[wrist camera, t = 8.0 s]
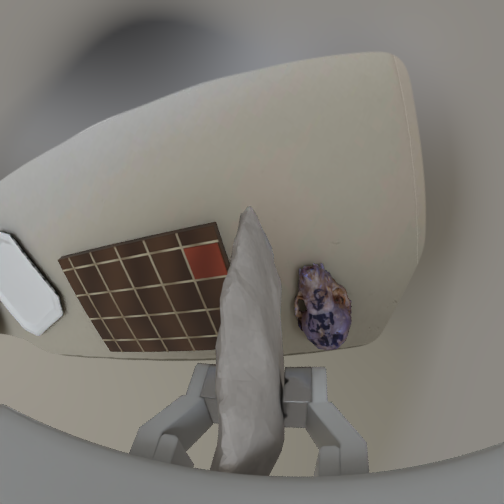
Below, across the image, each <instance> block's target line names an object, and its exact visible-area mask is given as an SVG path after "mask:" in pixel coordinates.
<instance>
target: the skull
mask: <svg viewBox="0 0 504 504" xmlns="http://www.w3.org/2000/svg"><path fill="white" fill-rule="evenodd" d="M313 265H314V266H307V267H305V266H304V267H303V268H302V270H301V268H300V269H299V283H298V286H299V290H298V295H297V296H296V297H295V301H294V308H295V316H296V317H297V318H298V326H299V327H300V329H301V330H302V331H304V333H305V334H306V336H307V339H308V340H309V341H311V342H312V343H313V344H314V345H315V346H316V347H317V348H319V349H323V350H333V349H337V348H339V347H340V346H341V345H342V344H343V343H344V342H345V341H346V339H347V336H348V333H349V329H350V326H351V321H352V320H351V302H352V301H351V300H349V298H348V296H347V292H346V290H345V288H344V287H343V286H341V285H339V284H337V283H336V281H335V280H334V279H333V278H332V277H331V275H330V273H329V272H327V271H326V270H324V266H323V264H322V263H321V264H320V267H321V268H319V266H318V265H317V264H314V263H313ZM341 298H342V299H343V302H342V300H341ZM299 299H301V300H304V304H305V306H306V307H307V310H305V311H300V310H299V306H298V300H299ZM336 300H337V301H336Z"/></svg>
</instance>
